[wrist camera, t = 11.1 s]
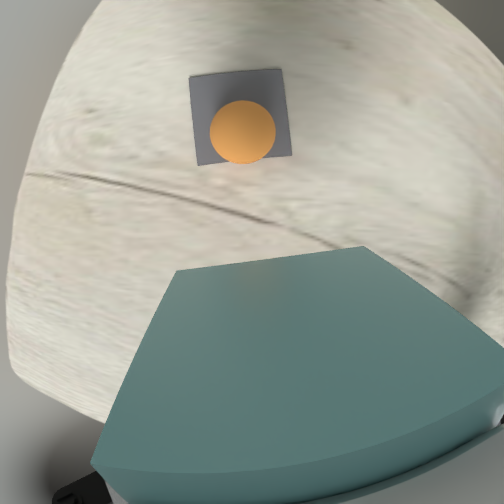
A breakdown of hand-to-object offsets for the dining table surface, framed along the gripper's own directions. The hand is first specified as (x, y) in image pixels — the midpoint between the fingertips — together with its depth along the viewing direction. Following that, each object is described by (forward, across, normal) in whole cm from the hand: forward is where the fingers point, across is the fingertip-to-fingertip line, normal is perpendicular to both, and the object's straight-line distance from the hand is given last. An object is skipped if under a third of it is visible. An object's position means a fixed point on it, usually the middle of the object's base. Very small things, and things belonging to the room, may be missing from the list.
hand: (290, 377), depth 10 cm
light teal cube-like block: (+3, 0, 0) cm, 3 cm away
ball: (+14, 0, -10) cm, 18 cm away
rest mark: (+17, 0, -12) cm, 21 cm away
